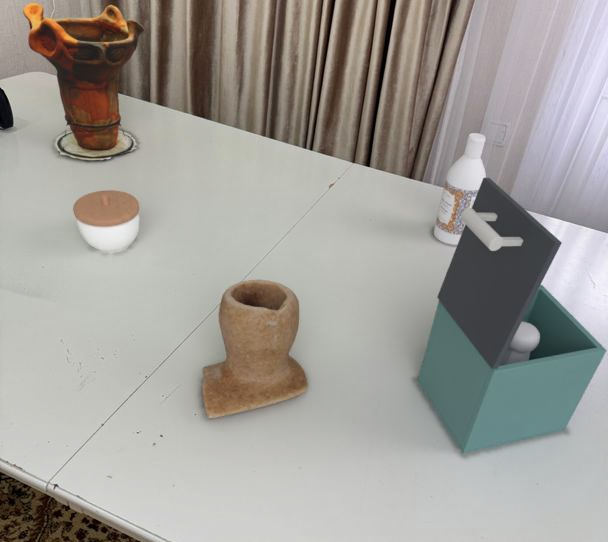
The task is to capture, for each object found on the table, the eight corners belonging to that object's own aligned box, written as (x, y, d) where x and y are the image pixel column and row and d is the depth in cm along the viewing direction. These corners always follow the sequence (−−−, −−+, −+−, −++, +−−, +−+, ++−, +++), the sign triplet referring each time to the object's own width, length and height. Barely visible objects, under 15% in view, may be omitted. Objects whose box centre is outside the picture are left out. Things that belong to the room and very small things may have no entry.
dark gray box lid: (489, 177, 69) (451, 176, 67) (562, 242, 59) (520, 243, 58) (442, 297, 79) (408, 298, 77) (498, 368, 70) (461, 372, 68)
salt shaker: (469, 404, 85) (495, 332, 77) (481, 379, 89) (507, 308, 81) (511, 421, 84) (542, 349, 75) (521, 395, 87) (552, 324, 79)
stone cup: (284, 346, 93) (290, 263, 83) (316, 401, 85) (326, 316, 75) (185, 368, 88) (178, 282, 78) (208, 429, 80) (203, 341, 70)
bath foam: (426, 230, 121) (449, 130, 108) (455, 225, 123) (482, 126, 110) (445, 249, 116) (472, 146, 103) (476, 243, 119) (505, 142, 105)
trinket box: (83, 264, 105) (73, 215, 99) (78, 232, 112) (69, 184, 106) (147, 256, 108) (141, 208, 102) (139, 225, 115) (133, 178, 109)
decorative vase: (170, 146, 141) (159, 10, 123) (79, 175, 128) (52, 27, 109) (117, 117, 151) (100, -13, 132) (28, 141, 138) (-5, 0, 119)
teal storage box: (510, 364, 93) (541, 284, 84) (564, 431, 84) (607, 350, 74) (416, 382, 89) (438, 300, 79) (462, 454, 80) (493, 372, 70)
